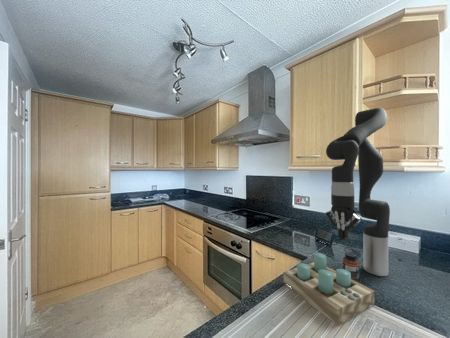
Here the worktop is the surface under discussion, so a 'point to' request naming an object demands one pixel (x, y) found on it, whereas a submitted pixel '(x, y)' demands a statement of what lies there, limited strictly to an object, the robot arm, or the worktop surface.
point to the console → (331, 295)
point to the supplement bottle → (351, 265)
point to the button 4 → (343, 278)
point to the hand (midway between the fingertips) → (342, 238)
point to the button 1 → (303, 272)
